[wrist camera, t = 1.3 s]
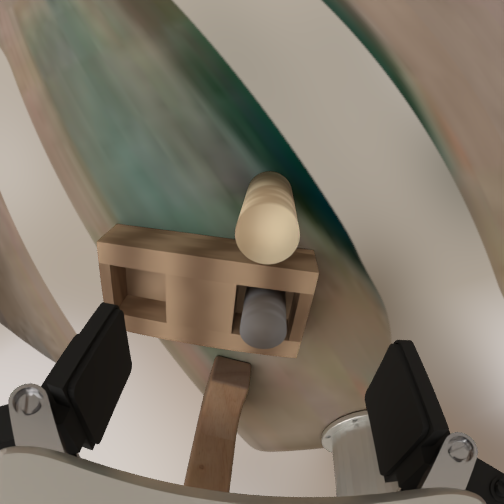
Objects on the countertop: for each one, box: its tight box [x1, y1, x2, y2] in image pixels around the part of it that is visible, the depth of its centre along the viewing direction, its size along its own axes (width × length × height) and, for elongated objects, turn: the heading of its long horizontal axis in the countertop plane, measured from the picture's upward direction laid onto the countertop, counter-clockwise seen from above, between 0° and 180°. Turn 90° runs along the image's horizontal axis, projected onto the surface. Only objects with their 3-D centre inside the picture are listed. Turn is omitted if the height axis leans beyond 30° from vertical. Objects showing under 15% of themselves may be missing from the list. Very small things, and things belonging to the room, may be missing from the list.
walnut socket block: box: [97, 224, 319, 358], centre depth 30 cm, size 20×10×7 cm, turn 83°
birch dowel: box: [235, 171, 300, 264], centre depth 25 cm, size 4×4×10 cm
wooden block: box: [184, 356, 251, 493], centre depth 32 cm, size 9×4×18 cm, turn 164°
